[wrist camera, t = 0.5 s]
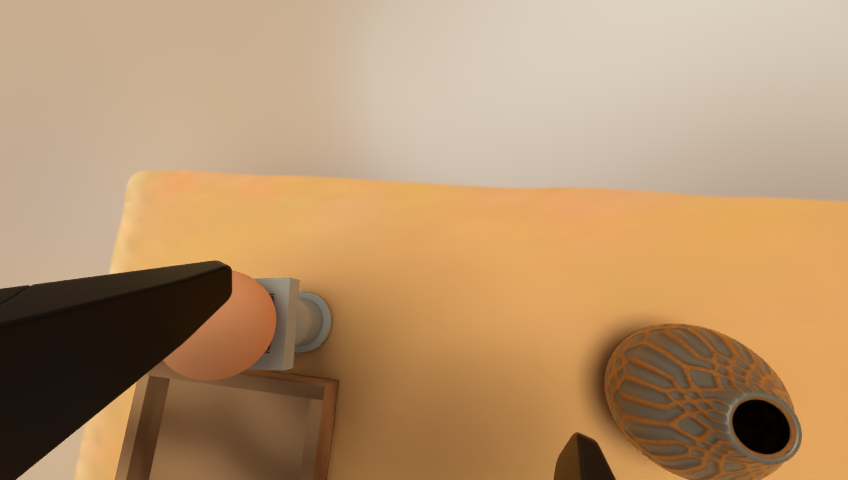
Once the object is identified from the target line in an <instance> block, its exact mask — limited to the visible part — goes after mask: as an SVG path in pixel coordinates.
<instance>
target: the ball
mask: <svg viewBox="0 0 848 480" xmlns="http://www.w3.org/2000/svg"><path fill="white" fill-rule="evenodd" d="M275 328H276V310H275V306H274V303H273V301H272V299H271V297H270V295H269V293H268V292H267V291H266V289H265V288H264V287H263V286H262V285H261V284H260V283H259V282H257V281H256V280H255V279H253V278H251V277H249V276H247V275H245V274H242V273H239V272H236V271H232V295H231V297H230V298H229V300H228V301H227V302H226V303H225V304H224V305H223V306H222V307H221V308H220V309H219V310H218V311H217V312H215V313H214V314H213V315H212V316H211V317H210V318H209V319H208V320H207V321H206V322H205V323H204V324H203V325H202V326H201V327H200V328H199V329H198V330H197V331H196V332H195V333H194V334H193V335H192V336H191V337H190V338H189V339H188V340H186V341H185V342H184V343H183V344H182V345H181V346H180V347H178V348H177V349H176V350H175V351H174V352H172V353H171V354H170V355H169V356H167V357H166V358H165V359H164V360H163V361H164V362H165V363H166V364H167V365H168V366H169V367H170V368H171V369H172V370H174V371H175V372H177V373H179V374H181V375H183V376H185V377H188V378H192V379H196V380H208V381H210V380H219V379H224V378H228V377H231V376H234V375H236V374H239V373H240V372H242V371H244V370H246V369H247V368H249V367H250V366H252V365H253V364H254V363H255V362H256V361H257V360H258V359H259V358H260V357H261V356H262V355H263V354H264V353H265V351H266V350H267V348H268V347H269V345H270V343H271V341H272V339H273V336H274V333H275Z"/></svg>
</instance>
